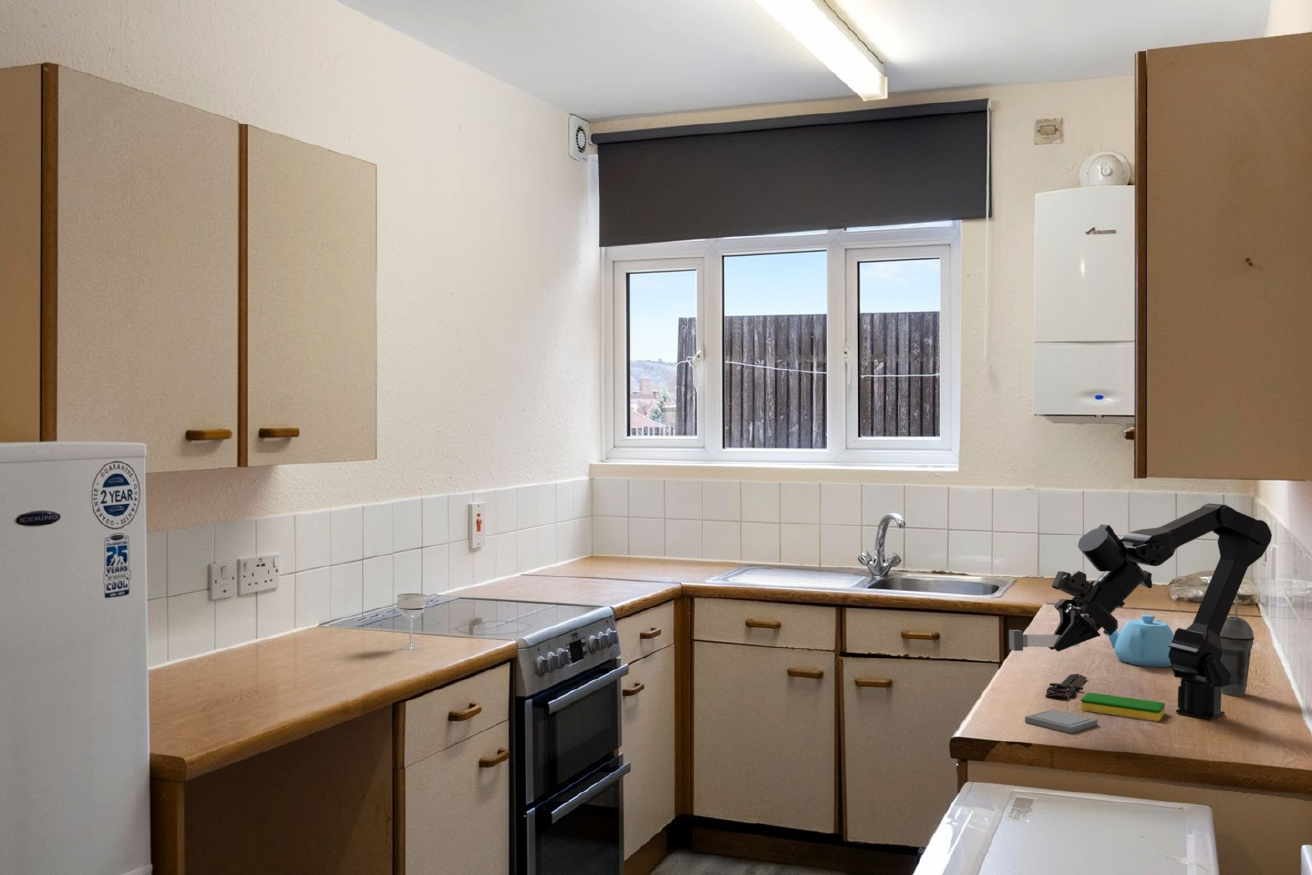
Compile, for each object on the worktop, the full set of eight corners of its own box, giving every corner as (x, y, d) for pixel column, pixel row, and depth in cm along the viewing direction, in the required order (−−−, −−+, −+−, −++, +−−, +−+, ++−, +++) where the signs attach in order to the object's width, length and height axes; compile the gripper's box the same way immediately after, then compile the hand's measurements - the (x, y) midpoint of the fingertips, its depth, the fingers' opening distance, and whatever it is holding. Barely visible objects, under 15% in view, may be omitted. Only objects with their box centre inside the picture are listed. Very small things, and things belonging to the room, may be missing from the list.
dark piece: (1071, 676, 245) (1072, 670, 245) (1102, 681, 241) (1103, 674, 241) (1035, 698, 224) (1036, 691, 224) (1069, 703, 221) (1069, 696, 221)
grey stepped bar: (1014, 630, 203) (1079, 631, 202) (1008, 629, 207) (1072, 630, 206) (1014, 650, 203) (1080, 651, 202) (1009, 649, 206) (1073, 649, 206)
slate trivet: (1097, 725, 203) (1097, 719, 203) (1070, 733, 197) (1070, 727, 197) (1052, 714, 210) (1052, 708, 210) (1024, 721, 204) (1025, 716, 204)
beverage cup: (1247, 690, 233) (1249, 593, 232) (1257, 698, 226) (1260, 598, 225) (1208, 687, 234) (1211, 591, 234) (1217, 695, 227) (1220, 596, 227)
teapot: (1098, 654, 267) (1099, 609, 267) (1159, 654, 269) (1160, 609, 268) (1132, 669, 252) (1133, 620, 252) (1195, 668, 253) (1197, 620, 253)
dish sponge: (1159, 723, 207) (1159, 710, 207) (1080, 711, 214) (1080, 699, 214) (1164, 715, 213) (1165, 702, 213) (1087, 704, 220) (1088, 691, 220)
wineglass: (397, 644, 263) (398, 593, 263) (427, 644, 264) (428, 593, 263) (393, 650, 256) (394, 597, 256) (423, 650, 257) (424, 597, 257)
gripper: (1063, 556, 215) (1006, 614, 214) (1096, 555, 196) (1034, 619, 196) (1107, 598, 214) (1049, 656, 213) (1144, 601, 195) (1082, 666, 194)
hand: (1052, 648), depth 204 cm, fingers closed on grey stepped bar, 3 cm apart
